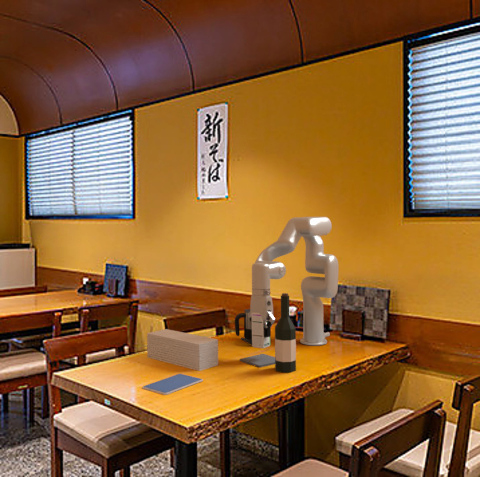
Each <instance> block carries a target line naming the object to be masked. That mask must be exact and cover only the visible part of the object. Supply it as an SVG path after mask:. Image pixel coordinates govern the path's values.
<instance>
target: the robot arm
mask: <svg viewBox="0 0 480 477" xmlns="http://www.w3.org/2000/svg"><path fill="white" fill-rule="evenodd" d="M331 231H332V222H331V220H330V217H329V218H328V217H327V216H302V217H297V216H295V217H291V218H290V219H289V220H288V221H287V223H286V224H285V226H284V228H283V230H282V231H281V233H280V235H279V237H278V239H276V241H274V242H273V243H271V244H269V245H268V246H267V247H266V248H264V249H263V250H261V252H260V253H259V255H258V256H257V258H256V260H255V262H254V263H253V264H252V265H251V297H250V306H249V309H250V312H249V313H248V316H249V318H250V321H251V325H252V313H253V312H257V313H259V314H261V317H262V320H263V321H264V325H265V328H264V337H265V338H266V337H270V338H271V335H272V334H271V333H272V330H271V328H272V327H273V324H274V323H275V321H276V318H275V317H274V303H273V298H272V296H271V280H280V279H282V278H284V277H285V275H286V272H287V268H286V266H285V264H284V263H282V262H281V261H276V259H277V258H280V257H282V256H286V255H288V254H290V253H292V252H294V251H295V249H296V247H297V246H298V244H299V241H300V240H301V238H303V241H304V242H305V254H304V255H305V256H304V257H305V258H304V259H305V260H304V267H305V271H306V272H308V273H310V274H316V275H317V274H318V275H324V276H314V275H313V276H306V277H304V278H303V279H302V281H301V282H300V283H301V284H300V289H301V295H302V303H303V307H302V308H303V310H302V311H303V312H302V313H303V318H302V320H303V324H302V325H303V327H302V328H303V330H302V331H303V336H302V338H300V341H299V342H300V344H303V345H305V346H322V345H326V344H327V343H328V340H327V338H328V337H329V336H331V335H330V332H329V331H327V332H324V303H323V301H322V299H321V298H324V299H332V298H333V299H334V298H335V297H336V295H337V293H338V289H339V288H338V287H339V270H340V268H339V261H338V258H337V257H336V256H335V255H334V254H330V253H325V252H324V249H325V248H324V241H323V239H322V236H327V235H329V233H331ZM273 260H275V261H273ZM267 322H268V324H267Z"/></svg>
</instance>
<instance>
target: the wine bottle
mask: <svg viewBox="0 0 480 477" xmlns="http://www.w3.org/2000/svg"><path fill="white" fill-rule="evenodd" d="M296 332H297V330H296V326H295V325H294V323H293V321H292V320H291V317H290V295H289V293H286V292H283V293H281V295H280V318H279V319H278V321H277V322H276V325H274V352H275V353H274V357H275V364H274V367H275V368H274V369H275V371H276V372H278V373H283V374H287V373H288V374H289V373H294V372H295V371H296V370H297V357H296V356H297V351H296V350H297V342H296V341H297V339H296V338H297V337H296V335H297V334H296Z"/></svg>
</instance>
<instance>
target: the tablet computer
mask: <svg viewBox="0 0 480 477" xmlns="http://www.w3.org/2000/svg"><path fill="white" fill-rule="evenodd" d="M203 380H204V379H203V378H201V377H195V376H192V375H189V374H188V375H187V374H183V373H178V374H175V375H171V376H169V377H166V378H164V379H160V380H158V381H154V382H152V383H149V384H146V385H143V386H142V389H143V390H145V391H149V392H151V393H152V392H153V393H157V394H160V395H164V396H167V395H171V394H172V393H174V392H178V391H181V390H183V389H186V388H188V387H190V386H193V385H196V384H198V383H199V384H200V383H202V382H203Z"/></svg>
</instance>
